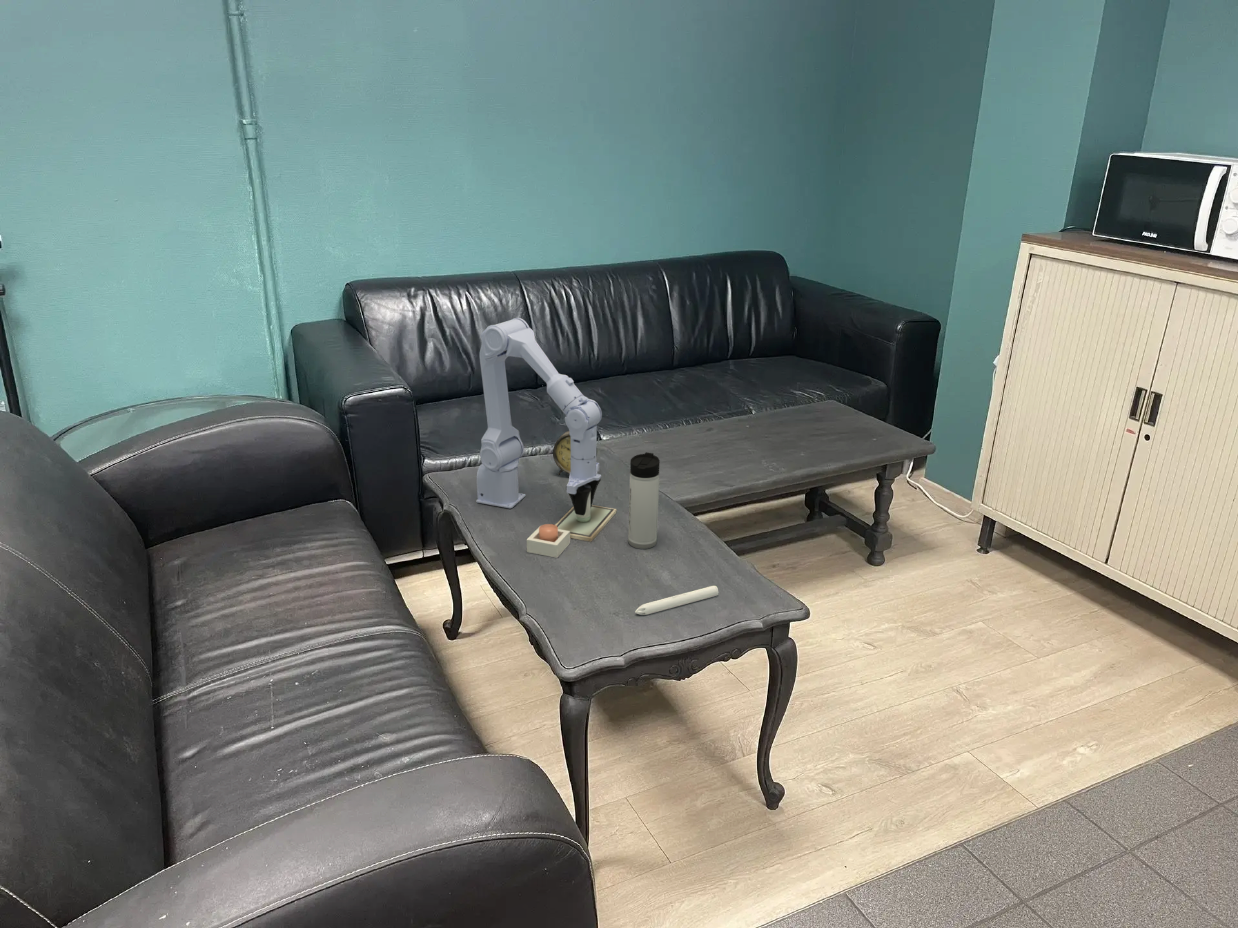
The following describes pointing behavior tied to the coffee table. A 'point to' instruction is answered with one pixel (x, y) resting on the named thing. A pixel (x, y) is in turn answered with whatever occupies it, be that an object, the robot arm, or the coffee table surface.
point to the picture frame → (586, 523)
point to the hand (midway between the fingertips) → (583, 510)
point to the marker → (677, 600)
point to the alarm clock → (563, 453)
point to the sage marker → (588, 509)
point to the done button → (548, 532)
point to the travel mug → (643, 500)
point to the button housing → (548, 544)
